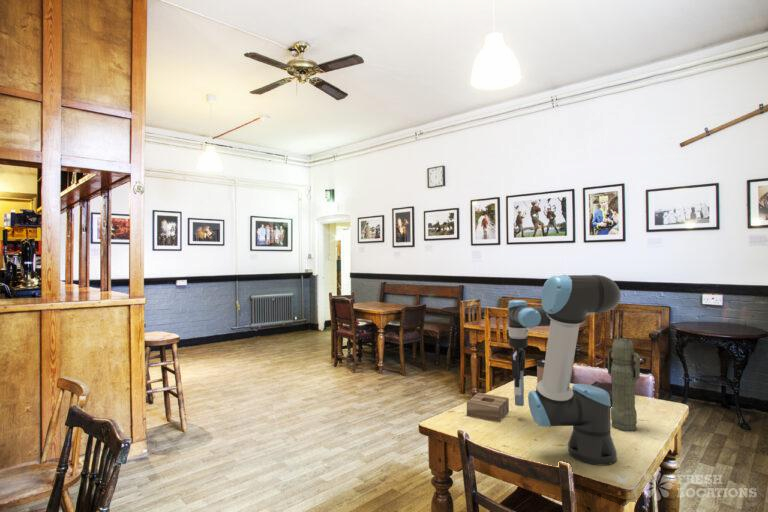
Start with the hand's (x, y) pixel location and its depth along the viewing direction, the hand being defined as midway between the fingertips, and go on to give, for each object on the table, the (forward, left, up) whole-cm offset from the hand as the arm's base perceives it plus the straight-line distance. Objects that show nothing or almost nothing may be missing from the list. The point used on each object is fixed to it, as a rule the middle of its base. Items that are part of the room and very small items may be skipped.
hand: (519, 393), depth 180 cm
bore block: (0, +13, -11) cm, 17 cm away
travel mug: (+25, -6, -11) cm, 27 cm away
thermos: (+13, -38, -11) cm, 41 cm away
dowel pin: (0, 0, -5) cm, 5 cm away
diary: (+46, -29, -12) cm, 56 cm away
